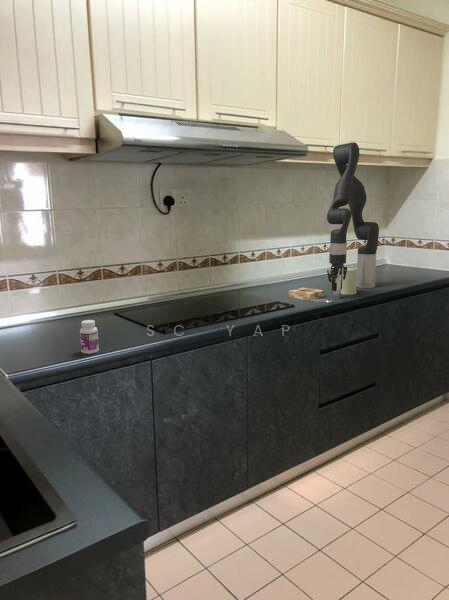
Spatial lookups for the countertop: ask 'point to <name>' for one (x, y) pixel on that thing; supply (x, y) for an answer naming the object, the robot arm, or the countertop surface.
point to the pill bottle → (89, 337)
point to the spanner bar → (320, 300)
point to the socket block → (306, 293)
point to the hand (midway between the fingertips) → (336, 289)
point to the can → (349, 282)
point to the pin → (337, 293)
